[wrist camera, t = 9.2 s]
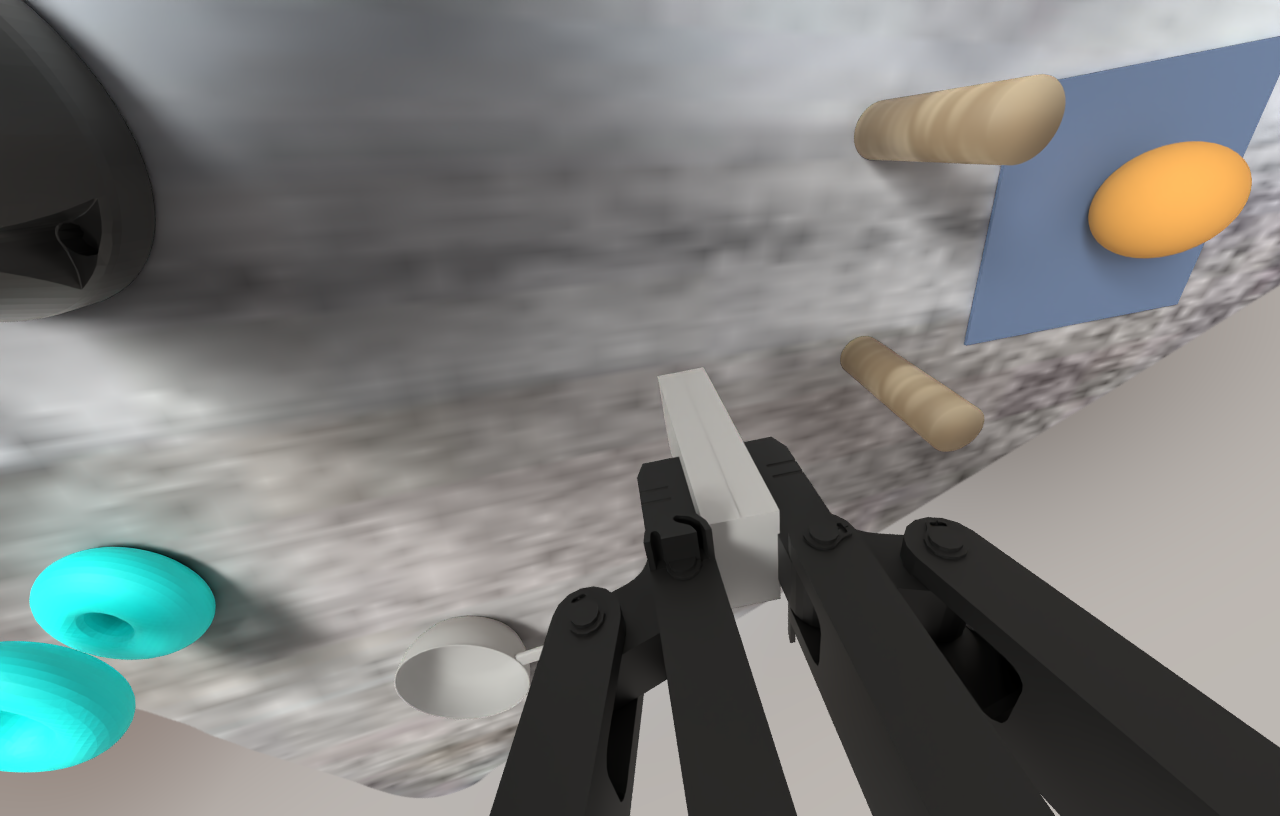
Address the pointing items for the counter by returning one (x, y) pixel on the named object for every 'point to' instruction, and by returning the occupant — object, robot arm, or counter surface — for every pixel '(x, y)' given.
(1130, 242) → the ball
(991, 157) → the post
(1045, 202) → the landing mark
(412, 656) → the saucepan
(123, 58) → the counter surface
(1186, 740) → the robot arm
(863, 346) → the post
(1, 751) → the donuts
